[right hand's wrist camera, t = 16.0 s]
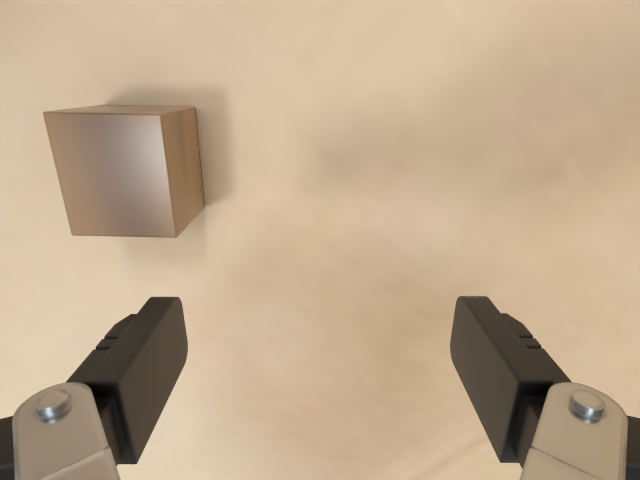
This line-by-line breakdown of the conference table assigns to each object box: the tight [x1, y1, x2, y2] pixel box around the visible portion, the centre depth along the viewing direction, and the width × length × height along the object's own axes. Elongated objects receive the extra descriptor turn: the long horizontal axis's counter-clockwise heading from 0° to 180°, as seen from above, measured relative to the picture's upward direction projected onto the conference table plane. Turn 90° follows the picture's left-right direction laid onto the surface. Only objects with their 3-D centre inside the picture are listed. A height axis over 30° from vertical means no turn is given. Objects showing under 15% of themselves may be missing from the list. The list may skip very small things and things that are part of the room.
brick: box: [43, 105, 205, 237], centre depth 18 cm, size 5×5×4 cm
